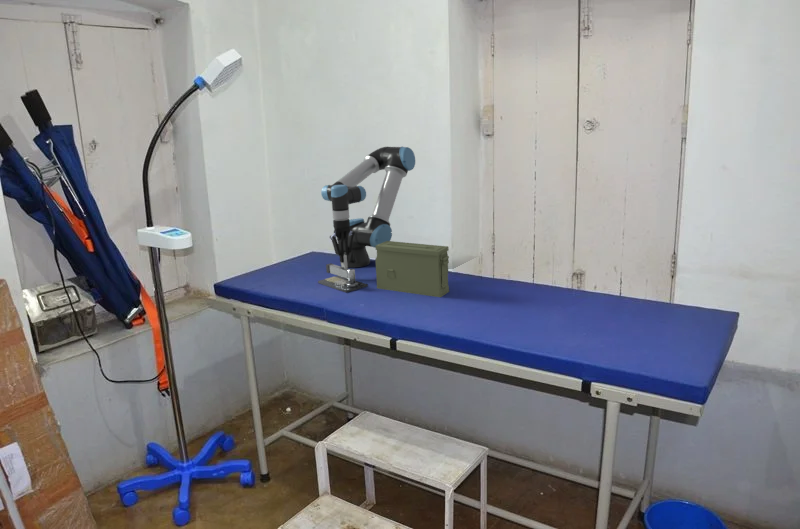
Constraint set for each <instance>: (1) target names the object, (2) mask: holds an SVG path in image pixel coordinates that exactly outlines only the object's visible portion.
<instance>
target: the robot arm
mask: <svg viewBox="0 0 800 529" xmlns="http://www.w3.org/2000/svg"><path fill="white" fill-rule="evenodd" d="M415 165H416V156H415V152H414V150H412V148H410V147H409V146H407V147H406V146H383V147H380V148H377V149H376V150H374V151H372V152H370V153H369V154H367V155H366V156H365V157H364V158H363V161H361V162H360V163H359V164H358V165H356V166H355V167H354V168H352V170H350V171H349V172H347V173H346V174H344V175H343V176H342V177H340V178H339V179H338V180H337V181H336V182H334V183H333V184H328V185H326V184H325V185H324V186H323V187H322V188H321V197H322V199H323V200H324V201H326V202H327V201H328V202H331V208H332V219H333V220H332V223H333V225H332V226H333V228H334V230H333V234H332V235H329V239H330V240H331V242H332V246H333V250H334V253H335V255H337V256H339V262H340V266H341V267H344V268H347V269H355V268H361V267H365V266H368V265H370V264H371V259H370V256H369V254H368V251H367V248H366V247H371V248H374V249H376V245H378V244H381V243H383V242H386V241H392V236H393V233H392V232H393V230H392V227H391V223H390V221H389V220H390V217H391V214H392V211H393V209H394V208H393V207H394V204H395V201H396V199H397V195H398V192H399V190H400V187H401V184H402V181H403V178H405V177H407V175H408V172H409V171H412V170H414V169H415V167H416V166H415ZM383 170H385V175H384V179H383V182H382V185H381V188H380V191H379V194H378V197H377V200H376V202H375V205H374V209H373V211H372V214H371V215H370V216H368V217H367V219H366V222H365V219H364V218H363V217H362V218H361V217H360V218H359V217H357V218H352V219H350V206H349V205H351V204H356V203H360V202H363V201H365V199H366V197H367V191H366V189H365V187H363V186H362V185H359V184H360V183H361V182H363V181H364V180H366V179H367V178H369V177H370V176H371V175H372V174H376V173H378V172H379V171H383Z"/></svg>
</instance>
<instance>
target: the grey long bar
mask: <svg viewBox="0 0 800 529" xmlns="http://www.w3.org/2000/svg"><path fill="white" fill-rule="evenodd" d="M325 270H326V273H327V274H331V275H334V276H341V277H344V278H347V279H348V283H350V284H352V283H355V282H356V281H357V280H356V269H355V268H348V269H347V268H344V267H342V266H341V265H337V264H334V263H328V264H325Z"/></svg>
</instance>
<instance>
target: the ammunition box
mask: <svg viewBox="0 0 800 529" xmlns="http://www.w3.org/2000/svg"><path fill="white" fill-rule="evenodd" d="M375 250H376V257H375V274H376V278H375V279H376V289H378V290H386V291H391V292H392V291H393V292H399V293H407V294H414V295H421V296H429V297H435V298H442V297H444V296H445V295H446V294H448V293H449V292H450V286H449V258H450V256H449V255H448V252H449V246H447V245H438V244H437V245H436V244H427V243H426V244H425V243H414V242H403V241H402V242H401V241H394V240H390V241H386V242H383V243H381V244H378V245H376V248H375Z"/></svg>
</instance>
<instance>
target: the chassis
mask: <svg viewBox="0 0 800 529" xmlns="http://www.w3.org/2000/svg"><path fill="white" fill-rule="evenodd" d="M355 281H356V282H355V283H352V284H350V283H348V279H347V278H344V277H341V276H338V275H334V276H331V277H327V278H324V279H319V280H317V283H318V284H320V285H323V286H325V287H329V288H332V289H334V290H336V291H340V292H342V293H347V294H348V293H350V292H354V291H357V290H360V289H365V288H367V287H368V283H365V282H361V281H358V280H355Z"/></svg>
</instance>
